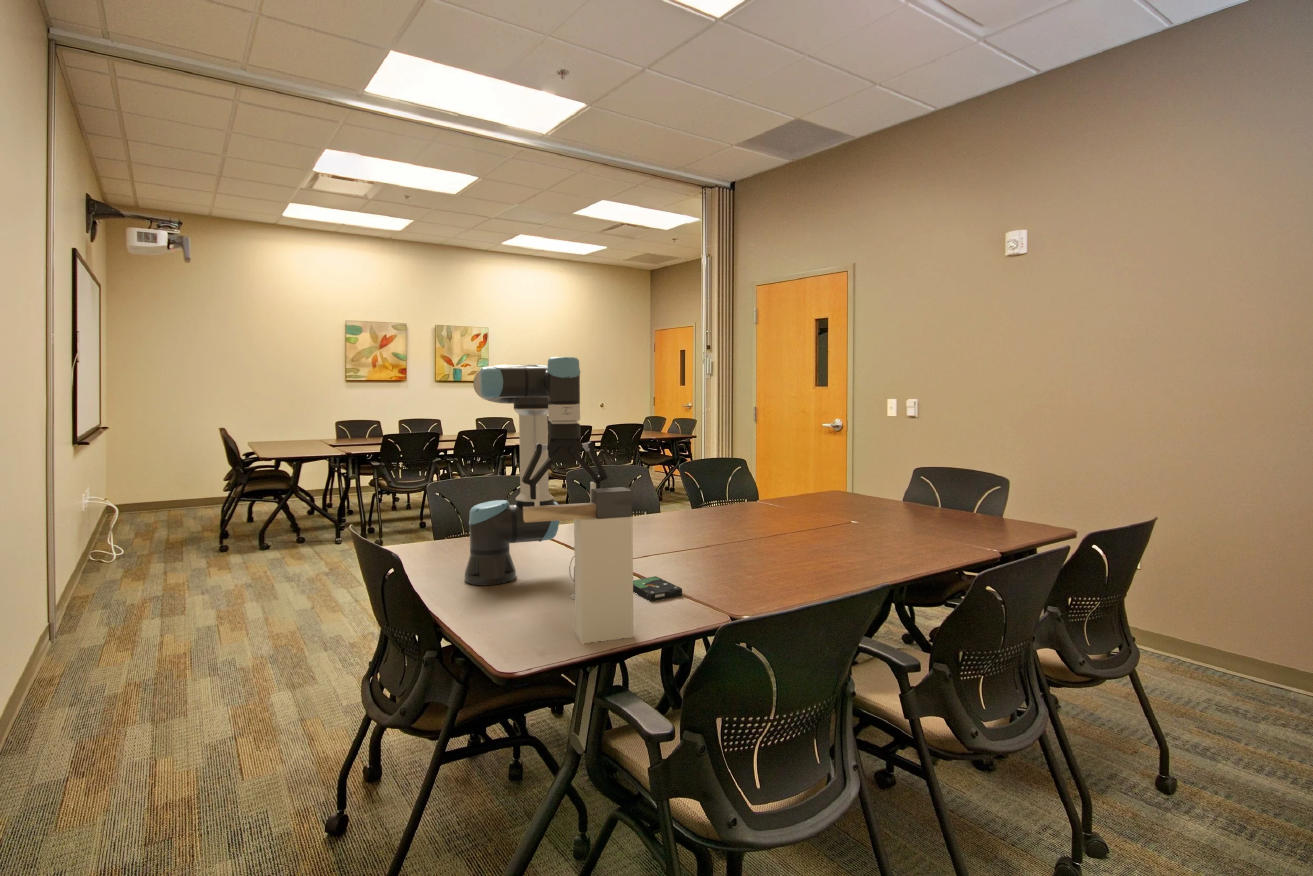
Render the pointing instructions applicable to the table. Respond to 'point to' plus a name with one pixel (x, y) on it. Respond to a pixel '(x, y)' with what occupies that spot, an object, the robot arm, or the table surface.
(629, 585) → the stand
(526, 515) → the mallet
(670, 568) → the table surface
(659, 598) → the disk drive
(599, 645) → the table surface
